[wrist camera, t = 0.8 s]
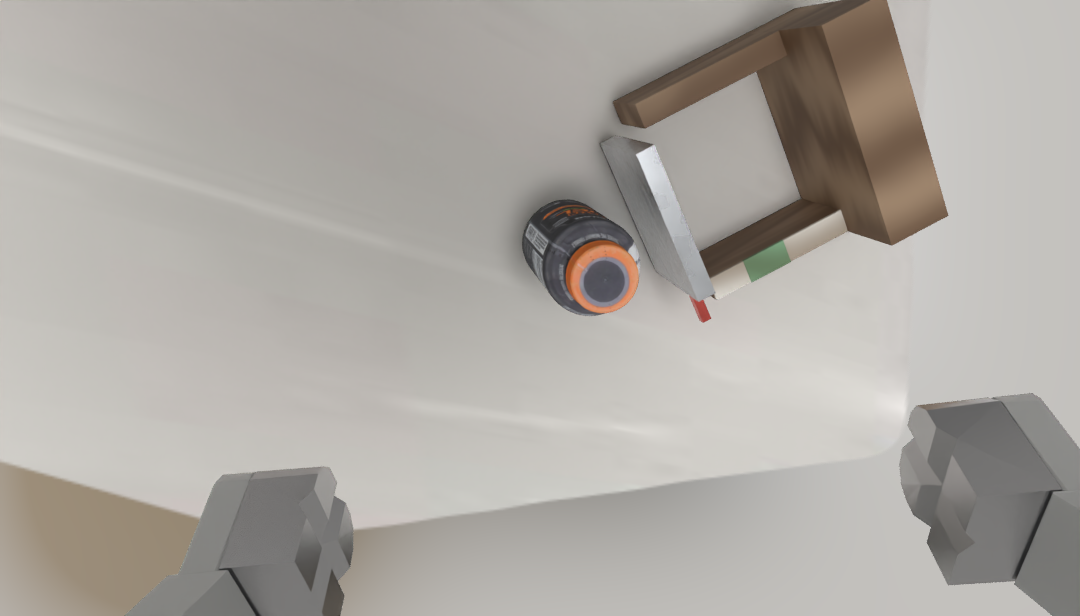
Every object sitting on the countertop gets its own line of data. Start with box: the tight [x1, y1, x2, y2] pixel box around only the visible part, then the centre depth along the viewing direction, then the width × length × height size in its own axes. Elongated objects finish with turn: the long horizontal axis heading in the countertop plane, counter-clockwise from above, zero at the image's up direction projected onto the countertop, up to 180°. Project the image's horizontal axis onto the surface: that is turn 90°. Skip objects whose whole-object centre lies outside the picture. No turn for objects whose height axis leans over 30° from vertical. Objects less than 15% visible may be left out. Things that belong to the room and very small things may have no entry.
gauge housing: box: [613, 0, 948, 300], centre depth 50 cm, size 14×14×10 cm
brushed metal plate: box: [600, 135, 716, 322], centre depth 51 cm, size 12×1×8 cm, turn 26°
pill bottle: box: [522, 200, 640, 316], centre depth 49 cm, size 6×6×11 cm
